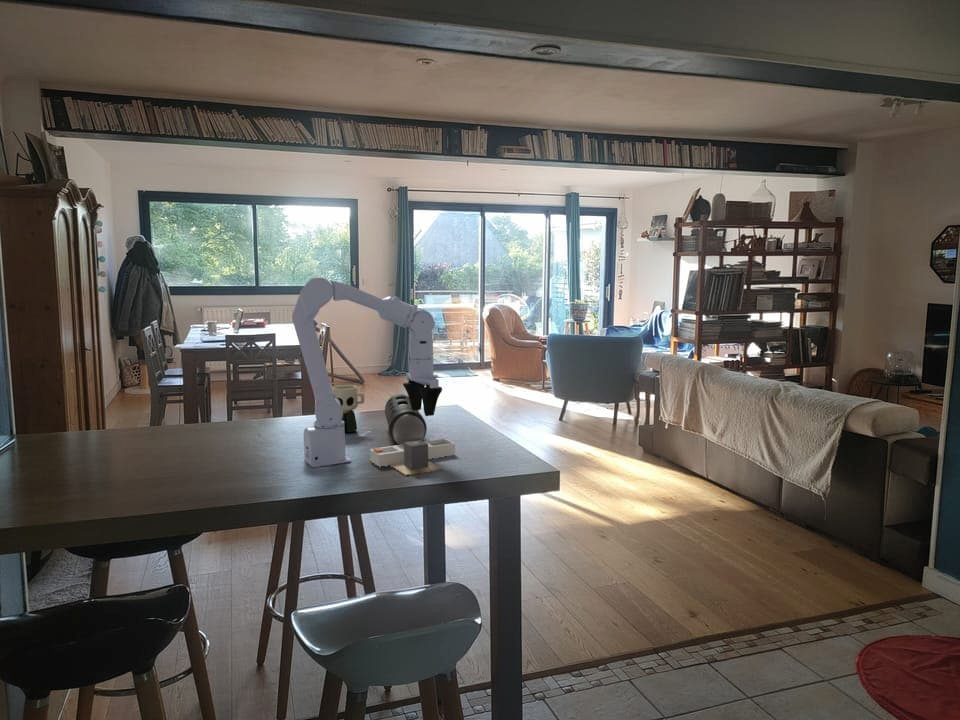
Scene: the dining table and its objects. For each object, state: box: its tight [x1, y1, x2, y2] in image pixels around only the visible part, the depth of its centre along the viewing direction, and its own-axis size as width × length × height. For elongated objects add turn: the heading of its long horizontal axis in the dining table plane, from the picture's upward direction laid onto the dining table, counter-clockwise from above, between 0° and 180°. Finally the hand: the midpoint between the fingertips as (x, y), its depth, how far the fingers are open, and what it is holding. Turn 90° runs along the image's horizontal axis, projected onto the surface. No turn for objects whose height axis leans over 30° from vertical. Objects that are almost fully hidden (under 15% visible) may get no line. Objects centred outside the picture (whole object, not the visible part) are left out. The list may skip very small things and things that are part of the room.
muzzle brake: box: [384, 393, 428, 445], centre depth 185 cm, size 10×28×10 cm, turn 11°
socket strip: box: [369, 437, 456, 468], centre depth 166 cm, size 20×6×4 cm, turn 120°
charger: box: [404, 440, 429, 470], centre depth 158 cm, size 4×4×6 cm
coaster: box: [389, 460, 443, 477], centre depth 158 cm, size 9×9×1 cm
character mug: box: [332, 384, 365, 433], centre depth 194 cm, size 11×7×13 cm, turn 101°
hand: (422, 412), depth 169 cm, fingers open, 7 cm apart
